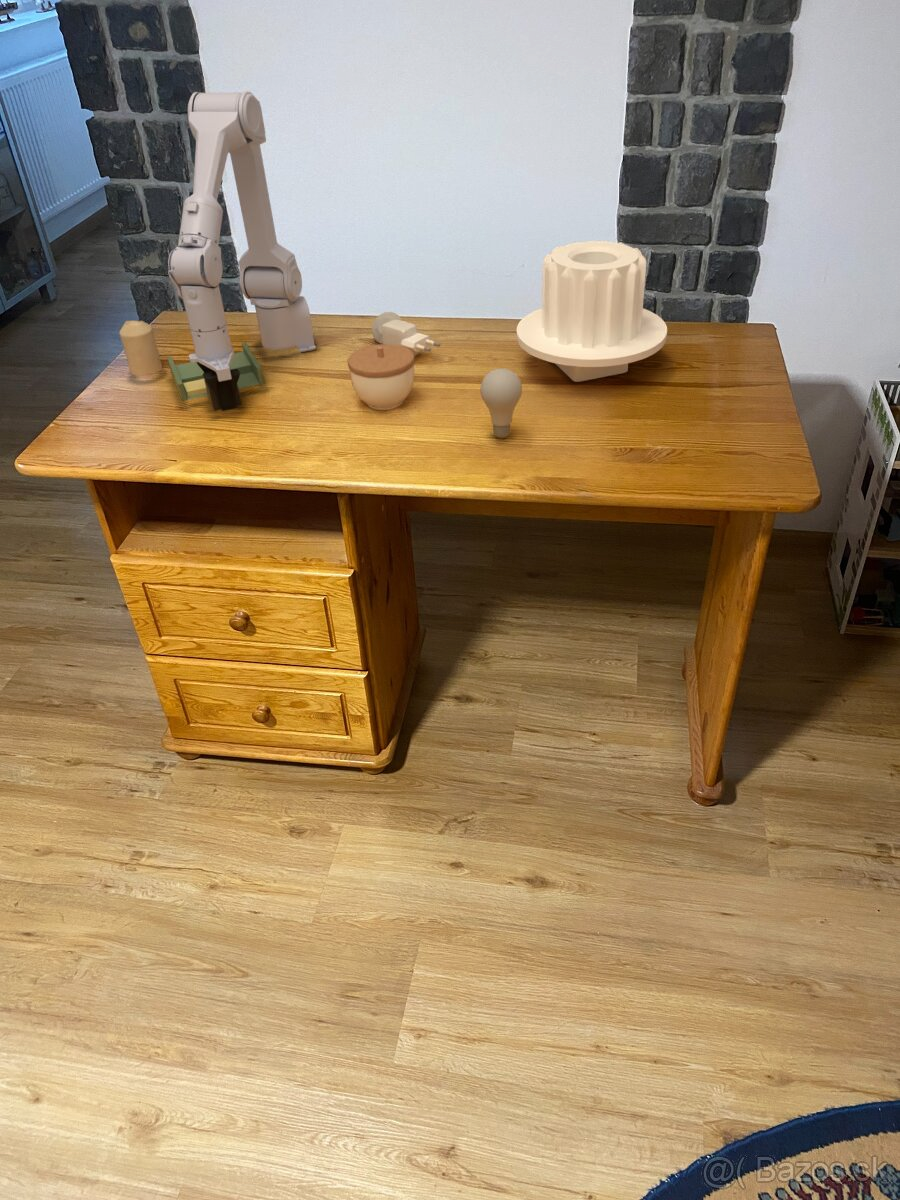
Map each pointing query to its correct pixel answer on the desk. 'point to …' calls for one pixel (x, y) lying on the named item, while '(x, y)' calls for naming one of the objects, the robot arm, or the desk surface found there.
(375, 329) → the grey rounded piece
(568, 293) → the flanged gear
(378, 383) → the trinket box
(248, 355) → the shelf
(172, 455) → the desk surface
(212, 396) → the holder
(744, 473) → the desk surface
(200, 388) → the note pad
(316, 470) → the desk surface
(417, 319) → the desk surface
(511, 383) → the lightbulb
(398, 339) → the power adapter
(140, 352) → the candle
